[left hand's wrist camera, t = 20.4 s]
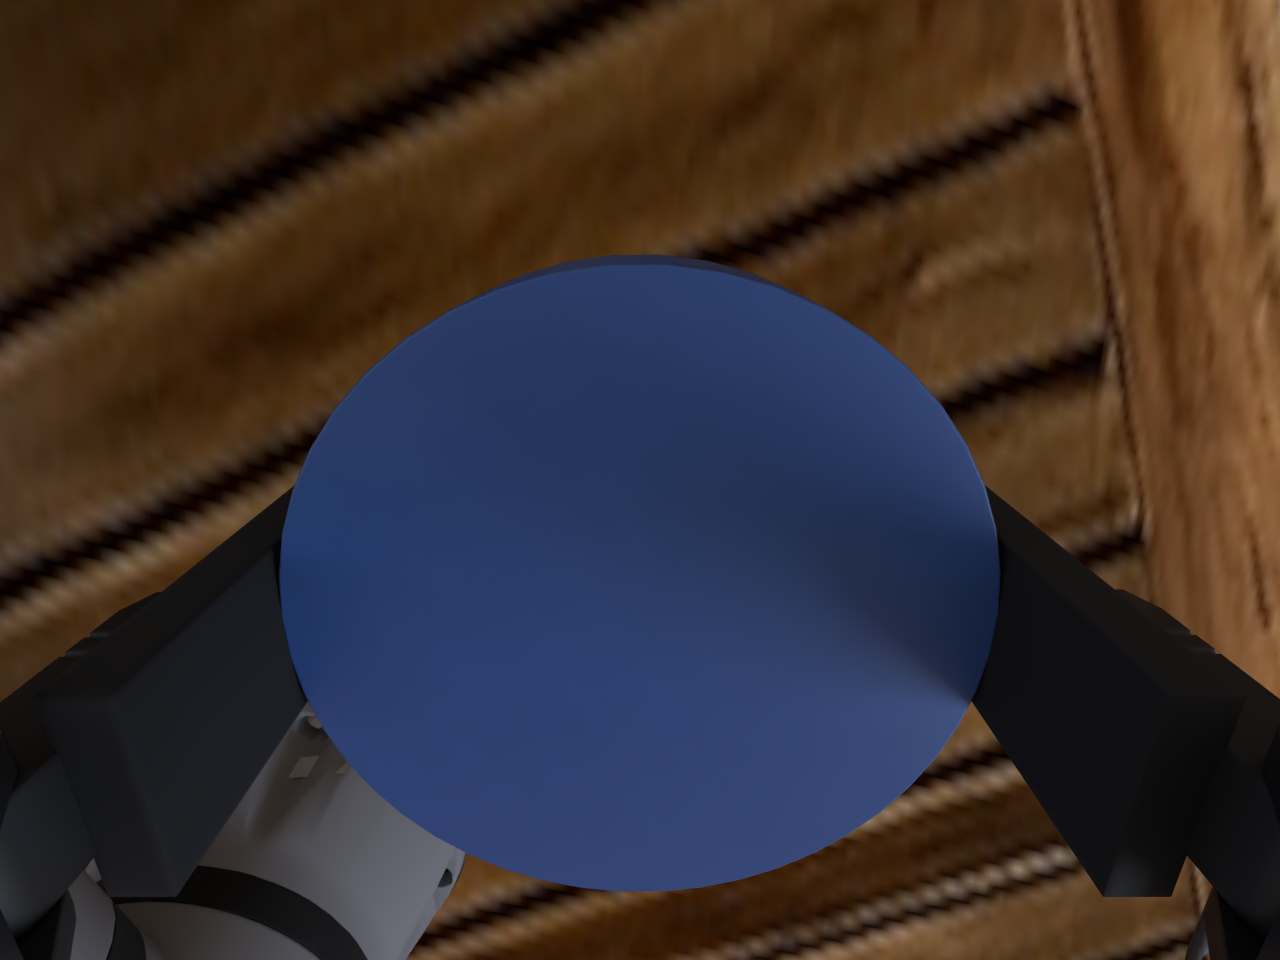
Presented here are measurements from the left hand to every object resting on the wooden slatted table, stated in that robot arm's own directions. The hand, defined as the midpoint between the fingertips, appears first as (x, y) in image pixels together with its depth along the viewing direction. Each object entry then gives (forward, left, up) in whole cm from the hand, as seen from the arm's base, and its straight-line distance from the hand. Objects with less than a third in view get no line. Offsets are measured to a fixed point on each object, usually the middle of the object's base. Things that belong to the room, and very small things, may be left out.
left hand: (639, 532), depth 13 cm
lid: (0, 0, +3) cm, 3 cm away
